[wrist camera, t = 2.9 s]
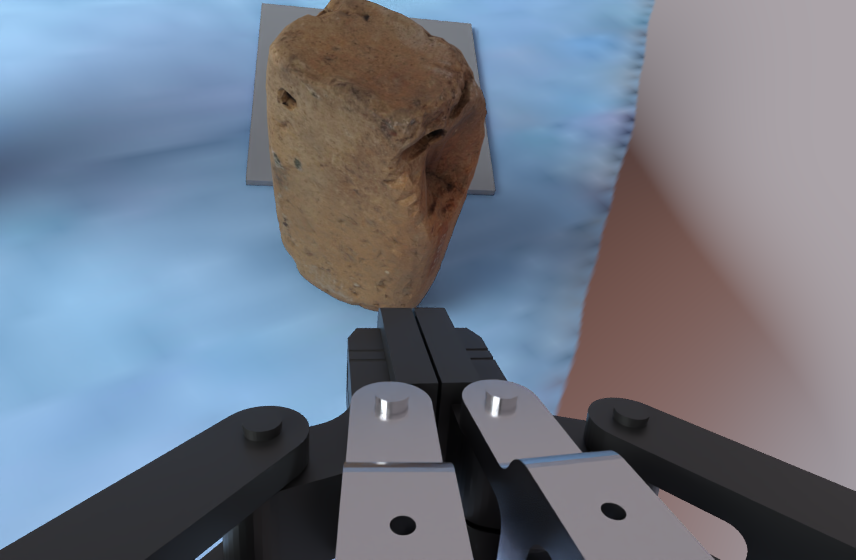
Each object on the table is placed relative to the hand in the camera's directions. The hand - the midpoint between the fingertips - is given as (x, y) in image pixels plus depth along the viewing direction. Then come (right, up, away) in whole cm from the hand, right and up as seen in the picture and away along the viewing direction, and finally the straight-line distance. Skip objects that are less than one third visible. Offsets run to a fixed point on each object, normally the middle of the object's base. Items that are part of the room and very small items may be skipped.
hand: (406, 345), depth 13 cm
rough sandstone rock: (-4, +2, +29) cm, 29 cm away
